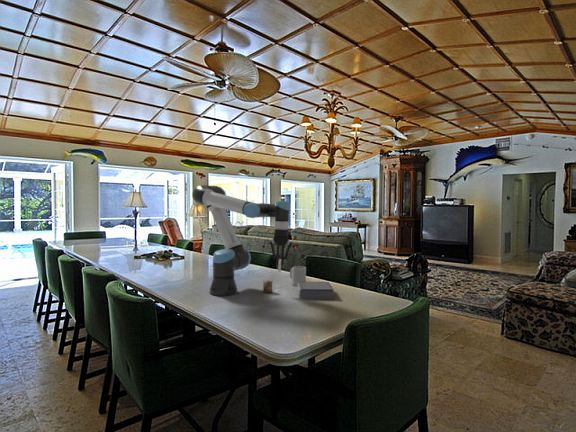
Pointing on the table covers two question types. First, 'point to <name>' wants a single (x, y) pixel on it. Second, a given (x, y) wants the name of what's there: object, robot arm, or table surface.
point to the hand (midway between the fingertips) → (279, 271)
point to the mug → (298, 275)
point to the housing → (316, 290)
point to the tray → (299, 290)
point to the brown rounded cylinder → (267, 286)
